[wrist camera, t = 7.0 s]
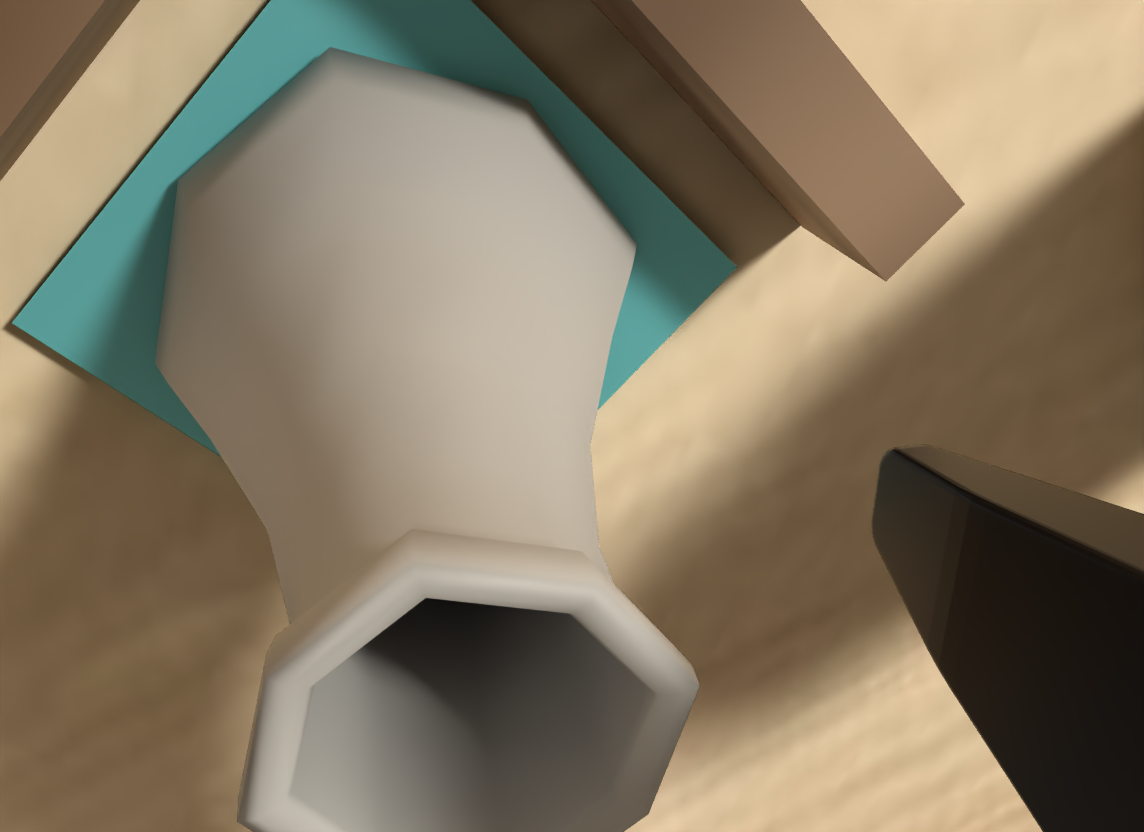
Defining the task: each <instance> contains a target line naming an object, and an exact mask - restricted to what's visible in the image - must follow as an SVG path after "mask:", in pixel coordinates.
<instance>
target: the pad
mask: <svg viewBox="0 0 1144 832" xmlns="http://www.w3.org/2000/svg"><path fill="white" fill-rule="evenodd" d="M329 47H333V48H336V49H340V50H344V51H348V52H351V53H355V54H359V55H363V56H366V57H370V58H374V59H377V60H381V61H385V62H389V63H392V64H396V65H400V66H404V67H407V68H411V69H415V70H419V71H422V72H426V73H430V74H434V75H437V76H441V77H445V78H448V79H452V80H456V81H460V82H463V83H467V84H471V85H475V86H478V87H482V88H486V89H490V90H493V91H497V92H501V93H505V94H508V95H512V96H516V97H519V98H523V99H527V100H528V101H529V102H530V104H531V105H532V106H533V108H534V109H535V110H536V112H537V113H538V114H539V115H540V117H541V118H542V119H543V121H544V122H545V123H546V125H547V126H548V127H549V129H550V130H551V131H552V133H553V134H554V135H555V137H556V138H557V139H558V141H559V142H560V143H561V145H562V146H563V147H564V149H565V150H566V151H567V152H568V154H569V155H570V156H571V158H572V159H573V160H574V162H575V163H576V164H577V166H578V167H579V168H580V170H581V171H582V172H583V174H584V175H585V176H586V178H587V179H588V180H589V182H590V183H591V184H592V185H593V187H594V188H595V189H596V191H597V192H598V193H599V195H600V196H601V197H602V199H603V200H604V201H605V203H606V204H607V205H608V207H609V208H610V209H611V211H612V212H613V213H614V215H615V216H616V217H617V218H618V220H619V221H620V222H621V224H622V225H623V226H624V228H625V229H626V230H627V232H628V233H629V234H630V236H631V237H632V238H633V240H634V241H635V242H636V244H637V247H636V251H635V256H634V261H633V266H632V270H631V273H630V277H629V280H628V284H627V287H626V291H625V294H624V298H623V301H622V305H621V308H620V312H619V315H618V319H617V322H616V326H615V329H614V333H613V336H612V341H611V346H610V350H609V355H608V360H607V365H606V370H605V375H604V380H603V385H602V390H601V395H600V400H599V405H598V409H599V408H600V407H601V406H602V405H603V404H604V403H605V402H606V401H607V400H608V399H609V398H610V397H611V396H612V395H613V394H614V393H615V392H616V391H617V390H618V389H619V388H620V387H621V386H622V385H623V384H624V383H625V382H626V381H627V380H628V378H629V377H630V376H631V375H632V374H633V373H634V372H635V371H636V370H637V369H638V368H639V367H640V366H641V365H642V364H643V363H644V362H645V361H646V360H647V359H648V358H649V357H650V356H651V355H652V354H653V353H654V352H655V351H656V350H657V349H658V348H659V347H660V346H661V345H662V344H663V343H664V342H665V341H666V340H667V339H668V338H669V337H670V335H671V334H672V333H673V332H674V331H675V330H676V329H677V328H678V327H679V326H680V325H681V324H682V323H683V322H684V321H685V320H686V319H687V318H688V317H689V316H690V315H691V314H692V313H693V312H694V311H695V310H696V309H697V308H698V307H699V306H700V305H701V304H702V303H703V302H704V301H705V300H706V299H707V298H708V297H709V296H710V295H711V293H712V292H713V291H714V290H715V289H716V288H717V287H718V286H719V285H720V284H721V283H722V282H723V281H724V280H725V279H726V278H727V277H728V276H729V275H730V274H731V273H732V272H733V271H734V270H735V269H736V268H737V266H736V265H735V264H734V263H733V262H732V261H731V260H730V259H729V258H728V257H727V256H726V255H725V254H724V253H723V252H722V251H721V250H720V249H719V248H718V247H717V246H716V245H715V244H714V243H713V242H712V241H711V240H710V239H709V238H708V237H707V236H706V235H705V234H704V233H703V232H702V231H701V230H700V229H699V228H698V227H697V226H696V225H695V224H694V223H693V222H692V221H691V220H690V219H689V218H688V217H687V216H686V215H685V214H684V213H683V212H682V211H681V210H680V209H679V208H678V207H677V206H676V205H675V204H674V203H673V202H672V201H671V200H670V199H669V198H668V197H667V196H666V195H665V194H664V193H663V192H662V191H661V190H660V189H659V188H658V187H657V186H656V185H655V184H654V183H653V182H652V181H651V180H650V179H649V178H648V177H647V176H646V175H645V174H644V173H643V172H642V171H641V170H640V169H639V168H638V167H637V166H636V165H635V164H634V163H633V162H632V161H631V160H630V159H629V158H628V157H627V156H626V155H625V154H624V153H623V152H622V151H621V150H620V149H619V148H618V147H617V146H616V145H615V144H614V143H613V142H612V141H611V140H610V139H609V138H608V137H607V136H606V135H605V134H604V133H603V132H602V131H601V130H600V129H599V128H598V127H597V126H596V125H595V124H594V123H593V122H592V121H591V120H590V119H589V118H588V117H587V116H586V115H585V114H584V113H583V112H582V111H581V110H580V109H579V108H578V107H577V106H576V105H575V104H574V103H573V102H572V101H571V100H570V99H569V98H568V97H567V96H566V95H565V94H564V93H563V92H562V91H561V90H560V89H559V88H558V87H557V86H556V85H555V84H554V83H553V82H552V81H551V80H550V79H549V78H548V77H547V76H546V75H545V74H544V73H543V72H542V71H541V70H540V69H539V68H538V67H537V66H536V65H535V64H534V63H533V62H532V61H531V60H530V59H529V58H528V57H527V56H526V55H525V54H524V53H523V52H522V51H521V50H520V49H519V48H518V47H517V46H516V45H515V44H514V43H513V42H512V41H511V40H510V39H509V38H508V37H507V36H506V35H505V34H504V33H503V32H502V31H501V30H500V29H499V28H498V27H497V26H496V25H495V24H494V23H493V22H492V21H491V20H490V19H489V18H488V17H487V16H486V15H485V14H484V13H483V12H482V11H481V10H480V9H479V8H478V7H477V6H476V5H475V4H474V3H473V2H472V1H471V0H271V1H270V2H269V3H268V4H267V6H266V7H265V8H264V9H263V11H262V12H261V13H260V14H259V16H258V17H257V18H256V19H255V21H254V22H253V23H252V24H251V26H250V27H249V28H248V29H247V31H246V32H245V33H244V34H243V36H242V37H241V38H240V39H239V41H238V42H237V43H236V44H235V45H234V47H233V48H232V49H231V50H230V52H229V53H228V54H227V55H226V57H225V58H224V59H223V60H222V62H221V63H220V64H219V65H218V67H217V68H216V69H215V70H214V72H213V73H212V74H211V75H210V77H209V78H208V79H207V80H206V82H205V83H204V84H203V85H202V87H201V88H200V89H199V90H198V92H197V93H196V94H195V95H194V97H193V98H192V99H191V100H190V102H189V103H188V104H187V105H186V107H185V108H184V109H183V110H182V112H181V113H180V114H179V115H178V116H177V118H176V119H175V120H174V121H173V123H172V124H171V125H170V126H169V128H168V129H167V130H166V131H165V133H164V134H163V135H162V136H161V138H160V139H159V140H158V141H157V143H156V144H155V145H154V146H153V148H152V149H151V150H150V151H149V153H148V154H147V155H146V156H145V158H144V159H143V160H142V161H141V163H140V164H139V165H138V166H137V168H136V169H135V170H134V171H133V173H132V174H131V175H130V176H129V178H128V179H127V180H126V181H125V183H124V184H123V185H122V186H121V187H120V189H119V190H118V191H117V192H116V194H115V195H114V196H113V197H112V199H111V200H110V201H109V202H108V204H107V205H106V206H105V207H104V209H103V210H102V211H101V212H100V214H99V215H98V216H97V217H96V219H95V220H94V221H93V222H92V224H91V225H90V226H89V227H88V229H87V230H86V231H85V232H84V234H83V235H82V236H81V237H80V239H79V240H78V241H77V242H76V244H75V245H74V246H73V247H72V249H71V250H70V251H69V252H68V254H67V255H66V256H65V257H64V258H63V260H62V261H61V262H60V263H59V265H58V266H57V267H56V268H55V270H54V271H53V272H52V273H51V275H50V276H49V277H48V278H47V280H46V281H45V282H44V283H43V285H42V286H41V287H40V288H39V290H38V291H37V292H36V293H35V295H34V296H33V297H32V298H31V300H30V301H29V302H28V303H27V305H26V306H25V307H24V308H23V310H22V311H21V312H20V313H19V315H18V316H17V317H16V318H15V320H14V321H13V322H12V324H14V325H16V326H17V327H19V328H20V329H22V330H23V331H25V332H27V333H28V334H30V335H31V336H33V337H34V338H36V339H37V340H39V341H41V342H42V343H44V344H45V345H47V346H48V347H50V348H52V349H53V350H55V351H56V352H58V353H59V354H61V355H62V356H64V357H66V358H67V359H69V360H70V361H72V362H73V363H75V364H77V365H78V366H80V367H81V368H83V369H84V370H86V371H87V372H89V373H91V374H92V375H94V376H95V377H97V378H98V379H100V380H102V381H103V382H105V383H106V384H108V385H109V386H111V387H112V388H114V389H116V390H117V391H119V392H120V393H122V394H123V395H125V396H127V397H128V398H130V399H131V400H133V401H134V402H136V403H137V404H139V405H141V406H142V407H144V408H145V409H147V410H148V411H150V412H152V413H153V414H155V415H156V416H158V417H159V418H161V419H162V420H164V421H166V422H167V423H169V424H170V425H172V426H173V427H175V428H177V429H178V430H180V431H181V432H183V433H184V434H186V435H187V436H189V437H191V438H192V439H194V440H195V441H197V442H198V443H200V444H202V445H203V446H205V447H206V448H208V449H209V450H211V451H212V452H214V453H216V454H217V455H219V456H220V457H221V455H220V454H219V452H218V451H217V449H216V447H215V446H214V444H213V443H212V441H211V439H210V438H209V437H208V435H207V434H206V433H205V431H204V430H203V429H202V428H201V426H200V425H199V424H198V422H197V421H196V420H195V418H194V417H193V416H192V414H191V413H190V412H189V410H188V409H187V408H186V406H185V405H184V404H183V403H182V401H181V400H180V399H179V397H178V396H177V395H176V393H175V392H174V391H173V389H172V388H171V387H170V385H169V384H168V383H167V381H166V380H165V378H164V377H163V375H162V373H161V372H160V370H159V369H158V367H157V365H156V364H155V358H156V350H157V342H158V334H159V327H160V319H161V311H162V303H163V295H164V287H165V279H166V271H167V263H168V256H169V248H170V240H171V232H172V224H173V216H174V208H175V200H176V192H177V185H178V179H179V178H180V177H182V176H183V175H184V174H185V173H186V172H187V171H188V170H190V169H191V168H192V167H193V166H194V165H195V164H196V163H198V162H199V161H200V160H201V159H202V158H203V157H204V156H206V155H207V154H208V153H209V152H210V151H211V150H212V149H214V148H215V147H216V146H217V145H218V144H219V143H221V142H222V141H223V140H224V139H225V138H226V137H227V136H229V135H230V134H231V133H232V132H233V131H234V130H235V129H237V128H238V127H239V126H240V125H241V124H242V123H243V122H245V121H246V120H247V119H248V118H249V117H250V116H251V115H253V114H254V113H255V112H256V111H257V110H258V109H259V108H261V107H262V106H263V105H264V104H265V103H266V102H267V101H269V100H270V99H271V98H272V97H273V96H274V95H275V94H277V93H278V92H279V91H280V90H281V89H282V88H283V87H285V86H286V85H287V84H288V83H289V82H290V81H291V80H293V79H294V78H295V77H296V76H297V75H298V74H299V73H301V72H302V71H303V70H304V69H305V68H306V67H307V66H309V65H310V64H311V63H312V62H313V61H314V60H315V59H317V58H318V57H319V56H320V55H321V54H322V53H323V52H325V51H326V50H327V49H328V48H329Z"/></svg>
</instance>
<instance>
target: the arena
mask: <svg viewBox="0 0 1144 832" xmlns="http://www.w3.org/2000/svg"><path fill="white" fill-rule="evenodd" d="M139 1H140V0H0V181H1V179H2V178H3V177H4V176H5V174H6V173H7V172H8V170H9V169H10V168H11V167H12V165H13V164H14V163H15V161H16V160H17V159H18V157H19V156H20V155H21V154H22V152H23V151H24V150H25V148H26V147H27V146H28V144H29V143H30V142H31V141H32V139H33V138H34V137H35V135H36V134H37V133H38V132H39V130H40V129H41V128H42V126H43V125H44V124H45V122H46V121H47V120H48V119H49V117H50V116H51V115H52V113H53V112H54V111H55V109H56V108H57V107H58V106H59V104H60V103H61V102H62V100H63V99H64V98H65V97H66V95H67V94H68V93H69V91H70V90H71V89H72V87H73V86H74V85H75V84H76V82H77V81H78V80H79V78H80V77H81V76H82V74H83V73H84V72H85V71H86V69H87V68H88V67H89V65H90V64H91V63H92V62H93V60H94V59H95V58H96V56H97V55H98V54H99V52H100V51H101V50H102V49H103V47H104V46H105V45H106V43H107V42H108V41H109V39H110V38H111V37H112V36H113V34H114V33H115V32H116V30H117V29H118V28H119V27H120V25H121V24H122V23H123V21H124V20H125V19H126V17H127V16H128V15H129V14H130V12H131V11H132V10H133V8H134V7H135V6H136V4H137V3H138V2H139ZM592 1H593V2H594V3H595V4H596V5H597V6H598V7H599V8H600V10H601V11H602V12H603V13H604V14H605V15H606V16H607V17H608V18H609V19H610V20H611V21H612V22H613V24H614V25H615V26H616V27H617V28H618V29H619V30H620V31H621V32H622V33H623V34H624V35H625V36H626V38H627V39H628V40H629V41H630V42H631V43H632V44H633V45H634V46H635V47H636V48H637V49H638V50H639V52H640V53H641V54H642V55H643V56H644V57H645V58H646V59H647V60H648V61H649V62H650V63H651V65H652V66H653V67H654V68H655V69H656V70H657V71H658V72H659V73H660V74H661V75H662V76H663V77H664V79H665V80H666V81H667V82H668V83H669V84H670V85H671V86H672V87H673V88H674V89H675V90H676V91H677V93H678V94H679V95H680V96H681V97H682V98H683V99H684V100H685V101H686V102H687V103H688V104H689V105H690V107H691V108H692V109H693V110H694V111H695V112H696V113H697V114H698V115H699V116H700V117H701V118H702V119H703V121H704V122H705V123H706V124H707V125H708V126H709V127H710V128H711V129H712V130H713V131H714V132H715V133H716V135H717V136H718V137H719V138H720V139H721V140H722V141H723V142H724V143H725V144H726V145H727V146H728V147H729V149H730V150H731V151H732V152H733V153H734V154H735V155H736V156H737V157H738V158H739V159H740V160H741V161H742V163H743V164H744V165H745V166H746V167H747V168H748V169H749V170H750V171H751V172H752V173H753V174H754V175H755V177H756V178H757V179H758V180H759V181H760V182H761V183H762V184H763V185H764V186H765V187H766V188H767V189H768V191H769V192H770V193H771V194H772V195H773V196H774V197H775V198H776V199H777V200H778V201H779V202H780V203H781V205H782V206H783V207H784V208H785V209H786V210H787V211H788V212H789V213H790V214H791V215H792V216H793V217H794V219H795V220H796V221H797V222H798V223H799V224H800V225H801V226H802V227H803V228H805V229H806V230H808V231H809V232H811V233H813V234H814V235H816V236H817V237H819V238H820V239H822V240H823V241H825V242H826V243H828V244H829V245H831V246H832V247H834V248H835V249H837V250H839V251H840V252H842V253H843V254H845V255H846V256H848V257H849V258H851V259H852V260H854V261H855V262H857V263H858V264H860V265H861V266H863V267H865V268H866V269H868V270H869V271H871V272H872V273H874V274H875V275H877V276H878V277H880V278H881V279H883V280H884V281H887V280H888V279H889V278H890V277H891V276H892V275H893V274H894V273H895V272H896V271H897V270H898V269H899V268H900V267H901V266H902V265H903V264H904V263H905V262H906V261H907V260H908V259H909V258H910V257H911V256H913V255H914V254H915V253H916V252H917V251H918V250H919V249H920V248H921V247H922V246H923V245H924V244H925V243H926V242H927V241H928V240H929V239H930V238H931V237H932V236H933V235H934V234H935V233H936V232H937V231H938V230H939V229H940V228H941V227H942V226H943V225H944V224H945V223H946V222H947V221H948V220H949V219H950V218H951V217H952V216H953V215H954V214H955V213H956V212H957V211H958V210H959V209H960V208H961V207H962V206H963V205H964V203H963V201H962V200H961V199H960V198H959V196H958V195H957V194H956V193H955V191H954V190H953V189H952V188H951V186H950V185H949V184H948V183H947V181H946V180H945V179H944V178H943V176H942V175H941V174H940V173H939V172H938V170H937V169H936V168H935V167H934V165H933V164H932V163H931V162H930V160H929V159H928V158H927V157H926V155H925V154H924V153H923V152H922V150H921V149H920V148H919V147H918V145H917V144H916V143H915V142H914V141H913V139H912V138H911V137H910V136H909V134H908V133H907V132H906V131H905V129H904V128H903V127H902V126H901V124H900V123H899V122H898V121H897V119H896V118H895V117H894V116H893V114H892V113H891V112H890V111H889V110H888V108H887V107H886V106H885V105H884V103H883V102H882V101H881V100H880V98H879V97H878V96H877V95H876V93H875V92H874V91H873V90H872V88H871V87H870V86H869V85H868V83H867V82H866V81H865V80H864V79H863V77H862V76H861V75H860V74H859V72H858V71H857V70H856V69H855V67H854V66H853V65H852V64H851V62H850V61H849V60H848V59H847V57H846V56H845V55H844V54H843V52H842V51H841V50H840V49H839V48H838V46H837V45H836V44H835V43H834V41H833V40H832V39H831V38H830V36H829V35H828V34H827V33H826V31H825V30H824V29H823V28H822V26H821V25H820V24H819V23H818V21H817V20H816V19H815V18H814V17H813V15H812V14H811V13H810V12H809V10H808V9H807V8H806V7H805V5H804V4H803V3H802V2H801V0H592Z"/></svg>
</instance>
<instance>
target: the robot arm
mask: <svg viewBox="0 0 1144 832" xmlns="http://www.w3.org/2000/svg"><path fill="white" fill-rule="evenodd" d="M872 534H873V538H874V542H875V545H876V547H877V549H878V551H879V553H880V555H881V557H882V559H883V561H884V563H885V565H886V567H887V569H888V571H889V573H890V575H891V577H892V579H893V581H894V583H895V585H896V587H897V589H898V591H899V593H900V595H901V597H902V599H903V601H904V603H905V605H906V607H907V609H908V611H909V613H910V615H911V617H912V619H913V621H914V623H915V625H916V627H917V629H918V631H919V633H920V635H921V637H922V639H923V641H924V643H925V645H926V647H927V649H928V651H929V653H930V655H931V656H932V658H933V660H934V662H935V664H936V666H937V667H938V669H939V671H940V672H941V674H942V676H943V677H944V679H945V681H946V682H947V684H948V686H949V687H950V689H951V690H952V692H953V694H954V695H955V697H956V698H957V700H958V701H959V703H960V704H961V706H962V707H963V709H964V711H965V712H966V714H967V715H968V717H969V718H970V720H971V721H972V723H973V724H974V726H975V728H976V729H977V731H978V732H979V734H980V735H981V737H982V738H983V740H984V741H985V743H986V745H987V746H988V748H989V749H990V751H991V752H992V754H993V755H994V757H995V758H996V760H997V762H998V763H999V765H1000V766H1001V768H1002V769H1003V771H1004V772H1005V774H1006V775H1007V777H1008V778H1009V780H1010V782H1011V783H1012V785H1013V786H1014V788H1015V789H1016V791H1017V792H1018V794H1019V795H1020V797H1021V799H1022V800H1023V802H1024V803H1025V805H1026V806H1027V808H1028V809H1029V811H1030V812H1031V814H1032V816H1033V817H1034V819H1035V820H1036V822H1037V823H1038V825H1039V826H1040V828H1041V829H1042V831H1043V832H1144V514H1142V513H1139V512H1136V511H1132V510H1129V509H1126V508H1123V507H1120V506H1117V505H1114V504H1111V503H1108V502H1104V501H1101V500H1098V499H1095V498H1092V497H1089V496H1086V495H1083V494H1080V493H1077V492H1073V491H1070V490H1067V489H1064V488H1061V487H1058V486H1055V485H1052V484H1049V483H1045V482H1042V481H1039V480H1036V479H1033V478H1030V477H1027V476H1024V475H1021V474H1017V473H1014V472H1011V471H1008V470H1005V469H1002V468H999V467H996V466H993V465H989V464H986V463H983V462H980V461H977V460H974V459H971V458H968V457H965V456H962V455H958V454H955V453H952V452H949V451H946V450H943V449H940V448H937V447H934V446H930V445H914V446H905V447H896V448H892V449H889V450H888V451H887V452H886V453H885V454H884V455H883V457H882V459H881V462H880V466H879V472H878V479H877V486H876V493H875V500H874V507H873V515H872Z"/></svg>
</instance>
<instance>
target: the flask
mask: <svg viewBox="0 0 1144 832" xmlns="http://www.w3.org/2000/svg"><path fill="white" fill-rule="evenodd" d="M636 247H637V244H636V242H635V241H634V240H633V238H632V237H631V236H630V234H629V233H628V232H627V230H626V229H625V228H624V226H623V225H622V224H621V222H620V221H619V220H618V218H617V217H616V216H615V215H614V213H613V212H612V211H611V209H610V208H609V207H608V205H607V204H606V203H605V201H604V200H603V199H602V197H601V196H600V195H599V193H598V192H597V191H596V189H595V188H594V187H593V185H592V184H591V183H590V182H589V180H588V179H587V178H586V176H585V175H584V174H583V172H582V171H581V170H580V168H579V167H578V166H577V164H576V163H575V162H574V160H573V159H572V158H571V156H570V155H569V154H568V152H567V151H566V150H565V149H564V147H563V146H562V145H561V143H560V142H559V141H558V139H557V138H556V137H555V135H554V134H553V133H552V131H551V130H550V129H549V127H548V126H547V125H546V123H545V122H544V121H543V119H542V118H541V117H540V115H539V114H538V113H537V112H536V110H535V109H534V108H533V106H532V105H531V104H530V102H529V101H528V100H527V99H523V98H519V97H516V96H512V95H508V94H505V93H501V92H497V91H493V90H490V89H486V88H482V87H478V86H475V85H471V84H467V83H463V82H460V81H456V80H452V79H448V78H445V77H441V76H437V75H434V74H430V73H426V72H422V71H419V70H415V69H411V68H407V67H404V66H400V65H396V64H392V63H389V62H385V61H381V60H377V59H374V58H370V57H366V56H363V55H359V54H355V53H351V52H348V51H344V50H340V49H336V48H333V47H329V48H328V49H327V50H326V51H325V52H323V53H322V54H321V55H320V56H319V57H318V58H317V59H315V60H314V61H313V62H312V63H311V64H310V65H309V66H307V67H306V68H305V69H304V70H303V71H302V72H301V73H299V74H298V75H297V76H296V77H295V78H294V79H293V80H291V81H290V82H289V83H288V84H287V85H286V86H285V87H283V88H282V89H281V90H280V91H279V92H278V93H277V94H275V95H274V96H273V97H272V98H271V99H270V100H269V101H267V102H266V103H265V104H264V105H263V106H262V107H261V108H259V109H258V110H257V111H256V112H255V113H254V114H253V115H251V116H250V117H249V118H248V119H247V120H246V121H245V122H243V123H242V124H241V125H240V126H239V127H238V128H237V129H235V130H234V131H233V132H232V133H231V134H230V135H229V136H227V137H226V138H225V139H224V140H223V141H222V142H221V143H219V144H218V145H217V146H216V147H215V148H214V149H212V150H211V151H210V152H209V153H208V154H207V155H206V156H204V157H203V158H202V159H201V160H200V161H199V162H198V163H196V164H195V165H194V166H193V167H192V168H191V169H190V170H188V171H187V172H186V173H185V174H184V175H183V176H182V177H180V178H179V179H178V185H177V192H176V200H175V208H174V216H173V224H172V232H171V240H170V248H169V256H168V263H167V271H166V279H165V287H164V295H163V303H162V311H161V319H160V327H159V334H158V342H157V350H156V358H155V364H156V365H157V367H158V369H159V370H160V372H161V373H162V375H163V377H164V378H165V380H166V381H167V383H168V384H169V385H170V387H171V388H172V389H173V391H174V392H175V393H176V395H177V396H178V397H179V399H180V400H181V401H182V403H183V404H184V405H185V406H186V408H187V409H188V410H189V412H190V413H191V414H192V416H193V417H194V418H195V420H196V421H197V422H198V424H199V425H200V426H201V428H202V429H203V430H204V431H205V433H206V434H207V435H208V437H209V438H210V439H211V441H212V443H213V444H214V446H215V447H216V449H217V451H218V452H219V454H220V455H221V457H222V459H223V460H224V462H225V463H226V465H227V467H228V468H229V470H230V471H231V473H232V475H233V476H234V478H235V480H236V481H237V483H238V484H239V486H240V488H241V489H242V491H243V492H244V494H245V496H246V497H247V499H248V500H249V502H250V504H251V505H252V507H253V508H254V510H255V512H256V513H257V515H258V516H259V518H260V520H261V521H262V523H263V524H264V526H265V528H266V529H267V532H268V536H269V540H270V544H271V548H272V552H273V556H274V560H275V565H276V569H277V573H278V577H279V581H280V585H281V589H282V593H283V598H284V602H285V606H286V610H287V614H288V618H289V622H290V625H289V626H287V627H286V628H285V629H283V630H282V631H281V632H280V633H278V634H277V635H276V636H275V638H274V640H273V642H272V644H271V646H270V648H269V650H268V652H267V654H266V658H265V663H264V668H263V673H262V679H261V684H260V689H259V694H258V699H257V704H256V709H255V714H254V719H253V725H252V730H251V735H250V740H249V745H248V750H247V755H246V760H245V765H244V771H243V776H242V781H241V786H240V791H239V796H238V816H237V822H239V823H240V824H242V825H243V826H245V827H247V828H248V829H250V830H251V831H253V832H624V831H625V830H627V829H628V828H630V827H631V826H632V825H634V824H635V823H637V822H638V821H639V820H641V819H642V818H644V817H645V816H646V815H648V814H649V811H650V809H651V806H652V804H653V801H654V799H655V796H656V794H657V791H658V789H659V786H660V784H661V781H662V779H663V776H664V774H665V772H666V769H667V767H668V764H669V762H670V759H671V757H672V754H673V752H674V749H675V747H676V744H677V742H678V739H679V737H680V734H681V732H682V729H683V727H684V724H685V722H686V719H687V717H688V714H689V712H690V710H691V707H692V705H693V702H694V700H695V697H696V695H697V692H698V690H699V687H700V685H699V682H698V679H697V676H696V674H695V671H694V668H693V666H692V665H691V663H690V662H689V661H688V660H687V659H686V658H685V657H684V656H683V655H682V654H681V653H680V652H679V650H678V649H677V648H676V647H675V646H674V645H673V644H672V643H671V642H670V641H669V640H668V639H667V638H666V637H665V636H664V635H663V634H662V633H661V632H660V631H659V630H658V629H657V628H656V627H655V626H654V625H653V624H652V623H651V622H650V621H649V620H648V619H647V617H646V616H645V615H644V614H643V613H642V612H641V611H640V610H639V609H638V608H637V607H636V606H635V605H634V604H633V603H632V602H631V601H630V600H629V599H628V598H627V597H626V596H625V595H624V594H623V593H622V592H621V591H620V590H619V589H618V588H617V587H616V586H615V585H614V582H613V580H612V577H611V575H610V572H609V569H608V567H607V564H606V562H605V559H604V556H603V554H602V551H601V549H600V546H599V541H598V529H597V517H596V505H595V493H594V482H593V470H592V458H591V446H590V444H591V439H592V434H593V429H594V424H595V419H596V415H597V410H598V405H599V400H600V395H601V390H602V385H603V380H604V375H605V370H606V365H607V360H608V355H609V350H610V346H611V341H612V336H613V333H614V329H615V326H616V322H617V319H618V315H619V312H620V308H621V305H622V301H623V298H624V294H625V291H626V287H627V284H628V280H629V277H630V273H631V270H632V266H633V261H634V256H635V251H636Z"/></svg>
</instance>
